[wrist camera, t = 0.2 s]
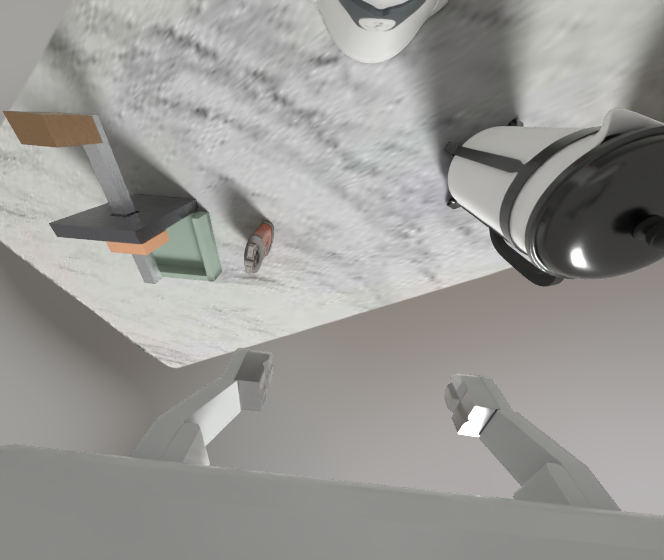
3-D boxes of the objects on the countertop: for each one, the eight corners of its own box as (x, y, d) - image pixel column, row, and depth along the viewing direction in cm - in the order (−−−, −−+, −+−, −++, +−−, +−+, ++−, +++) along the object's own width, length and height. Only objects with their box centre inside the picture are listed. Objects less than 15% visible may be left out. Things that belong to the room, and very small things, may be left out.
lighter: (269, 256, 52) (255, 282, 44) (254, 252, 52) (237, 277, 44) (276, 223, 48) (261, 245, 40) (260, 218, 48) (241, 239, 39)
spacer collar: (133, 226, 43) (105, 240, 38) (166, 229, 43) (142, 244, 38) (137, 237, 44) (111, 251, 39) (169, 240, 44) (147, 255, 39)
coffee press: (411, 187, 43) (500, 281, 18) (485, 91, 35) (832, 17, 10) (478, 235, 47) (624, 363, 22) (558, 159, 39) (925, 227, 14)
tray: (129, 204, 47) (112, 210, 44) (208, 211, 47) (198, 218, 44) (153, 265, 55) (141, 274, 52) (221, 271, 55) (213, 281, 52)
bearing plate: (134, 193, 46) (48, 223, 33) (195, 199, 46) (134, 231, 33) (138, 204, 47) (57, 236, 34) (198, 209, 47) (140, 244, 34)
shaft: (75, 113, 31) (2, 110, 25) (105, 115, 31) (40, 114, 25) (146, 276, 46) (113, 302, 39) (167, 278, 46) (137, 304, 39)
